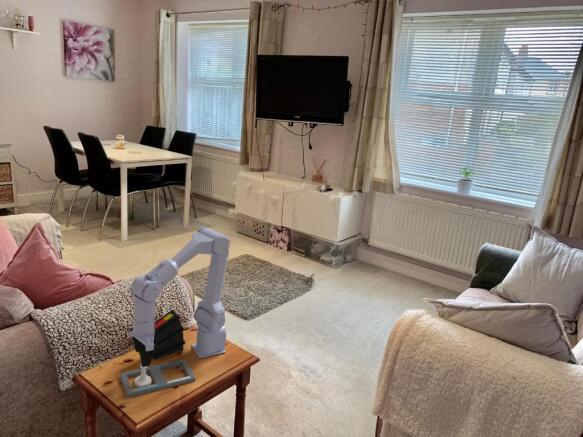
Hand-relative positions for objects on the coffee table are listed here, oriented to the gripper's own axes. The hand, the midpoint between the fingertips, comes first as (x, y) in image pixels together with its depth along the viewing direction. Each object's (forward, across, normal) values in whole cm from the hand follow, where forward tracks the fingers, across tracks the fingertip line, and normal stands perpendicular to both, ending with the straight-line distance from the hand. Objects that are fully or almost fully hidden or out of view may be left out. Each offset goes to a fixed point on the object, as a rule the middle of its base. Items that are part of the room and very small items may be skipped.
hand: (142, 358), depth 127 cm
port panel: (+8, 0, +5) cm, 10 cm away
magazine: (+9, -12, +10) cm, 18 cm away
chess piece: (+9, 0, 0) cm, 9 cm away
